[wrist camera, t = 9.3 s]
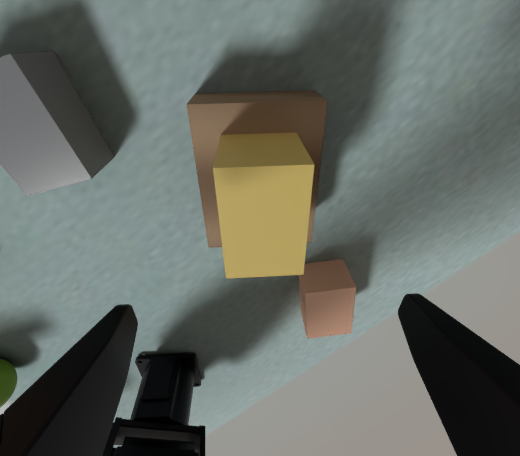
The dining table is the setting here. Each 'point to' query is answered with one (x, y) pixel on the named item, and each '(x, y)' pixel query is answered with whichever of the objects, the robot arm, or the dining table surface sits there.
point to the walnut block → (252, 122)
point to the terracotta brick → (327, 298)
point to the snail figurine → (7, 381)
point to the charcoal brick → (45, 125)
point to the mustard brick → (263, 203)
